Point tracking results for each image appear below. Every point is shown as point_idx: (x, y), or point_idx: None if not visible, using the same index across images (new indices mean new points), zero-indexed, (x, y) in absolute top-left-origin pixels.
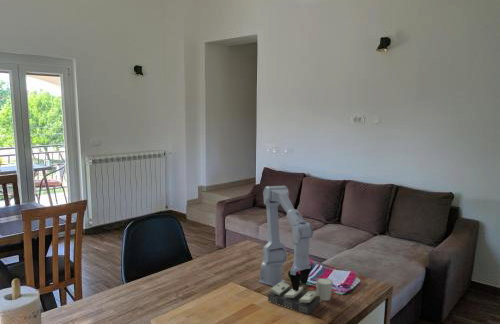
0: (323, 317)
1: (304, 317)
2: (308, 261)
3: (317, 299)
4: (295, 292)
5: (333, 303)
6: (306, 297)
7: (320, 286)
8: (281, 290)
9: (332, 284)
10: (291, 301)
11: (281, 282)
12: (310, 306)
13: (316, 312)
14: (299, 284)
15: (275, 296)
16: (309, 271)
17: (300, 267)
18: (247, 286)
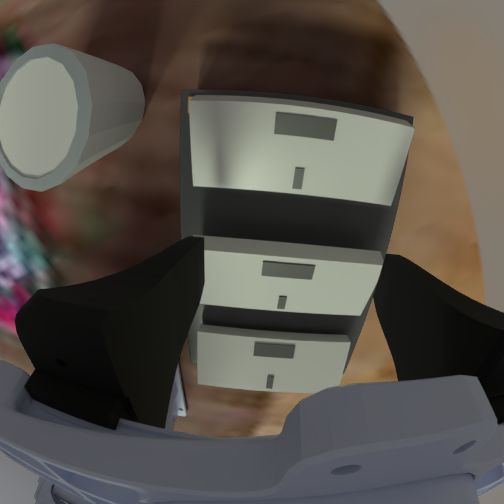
0: (371, 25)
1: (428, 130)
2: (7, 426)
3: (235, 90)
4: (327, 267)
5: (147, 24)
6: (354, 160)
7: (101, 116)
8: (308, 348)
9: (31, 56)
10: (385, 249)
11: (217, 379)
12: (380, 109)
13: (336, 72)
14: (427, 280)
15: (355, 343)
16: (137, 300)
17: (476, 482)
18: (246, 427)
